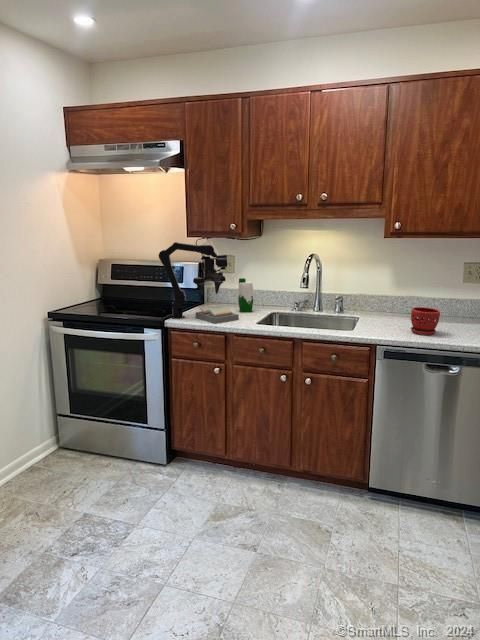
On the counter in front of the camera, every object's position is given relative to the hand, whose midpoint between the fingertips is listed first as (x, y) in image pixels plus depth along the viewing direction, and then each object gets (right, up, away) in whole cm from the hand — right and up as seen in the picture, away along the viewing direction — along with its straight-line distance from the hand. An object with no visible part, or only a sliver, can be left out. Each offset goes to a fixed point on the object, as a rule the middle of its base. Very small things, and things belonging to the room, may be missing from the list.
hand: (209, 294), depth 267 cm
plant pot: (+108, -21, -37) cm, 116 cm away
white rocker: (0, -9, +2) cm, 10 cm away
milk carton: (+21, -9, +18) cm, 29 cm away
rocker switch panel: (+4, -14, -3) cm, 15 cm away
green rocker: (+6, -11, -6) cm, 14 cm away
